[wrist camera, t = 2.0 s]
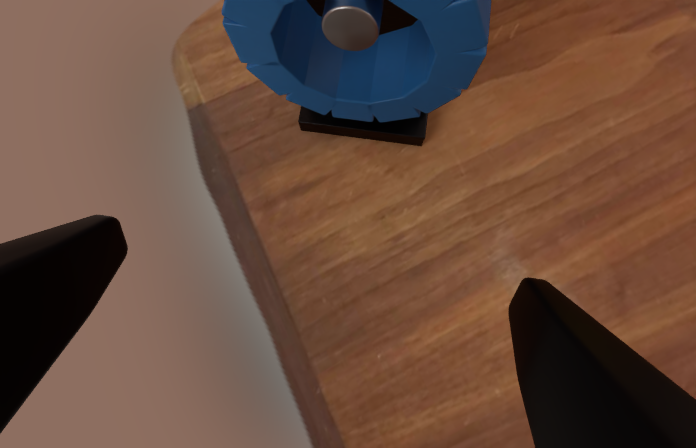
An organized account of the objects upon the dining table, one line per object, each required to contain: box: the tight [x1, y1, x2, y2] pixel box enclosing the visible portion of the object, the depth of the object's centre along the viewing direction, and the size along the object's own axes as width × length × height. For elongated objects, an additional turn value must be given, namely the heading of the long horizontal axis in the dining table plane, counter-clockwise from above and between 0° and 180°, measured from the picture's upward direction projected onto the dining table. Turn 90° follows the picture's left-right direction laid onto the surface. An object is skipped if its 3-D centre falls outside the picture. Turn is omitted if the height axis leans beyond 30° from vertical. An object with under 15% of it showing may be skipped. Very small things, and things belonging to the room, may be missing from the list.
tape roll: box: [222, 0, 491, 122], centre depth 10 cm, size 3×7×7 cm, turn 82°
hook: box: [298, 0, 428, 146], centre depth 15 cm, size 10×8×16 cm
